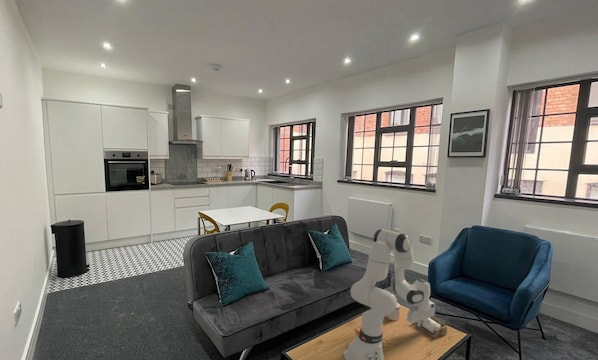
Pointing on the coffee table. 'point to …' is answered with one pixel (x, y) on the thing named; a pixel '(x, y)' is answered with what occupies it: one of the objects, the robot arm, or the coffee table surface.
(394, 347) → the coffee table surface
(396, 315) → the teacup with lid
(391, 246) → the robot arm
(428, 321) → the roll
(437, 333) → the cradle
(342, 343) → the coffee table surface
